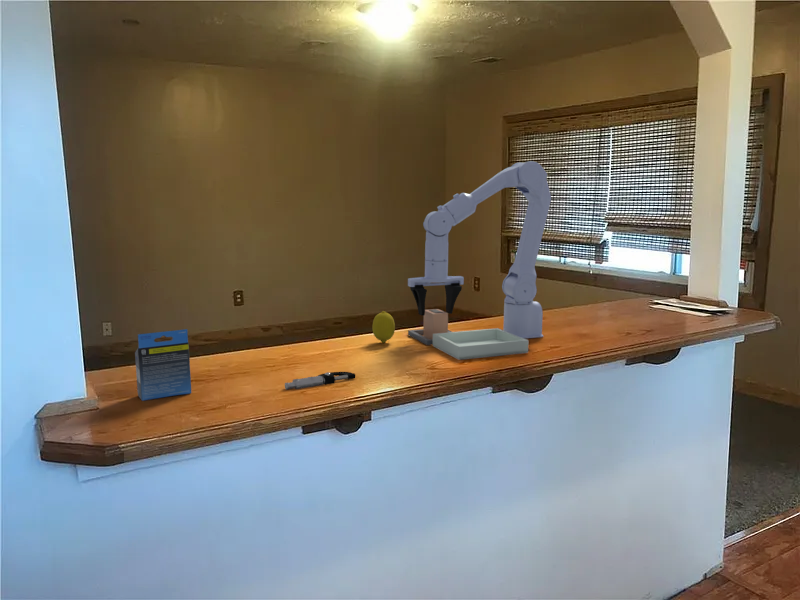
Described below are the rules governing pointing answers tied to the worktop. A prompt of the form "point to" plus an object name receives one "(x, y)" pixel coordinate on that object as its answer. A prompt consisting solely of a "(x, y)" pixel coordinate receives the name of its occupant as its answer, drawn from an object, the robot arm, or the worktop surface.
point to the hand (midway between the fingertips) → (435, 313)
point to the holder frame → (420, 336)
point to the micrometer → (319, 380)
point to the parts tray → (480, 343)
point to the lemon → (383, 326)
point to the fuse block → (435, 322)
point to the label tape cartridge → (163, 365)
